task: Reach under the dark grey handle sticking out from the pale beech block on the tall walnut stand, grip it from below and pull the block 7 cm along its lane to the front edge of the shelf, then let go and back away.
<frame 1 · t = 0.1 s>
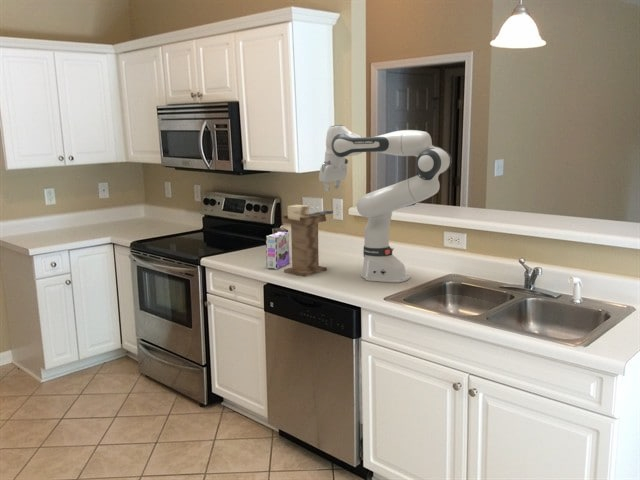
hand: (331, 190, 276), 39 cm above the worktop, tool pointing down, fingers open, 8 cm apart
walnut stand: (305, 271, 283), on the worktop
coffee box: (281, 259, 310), on the worktop
candy box: (278, 266, 294), on the worktop
beech block: (298, 218, 275), point 26 cm above the worktop, touching walnut stand
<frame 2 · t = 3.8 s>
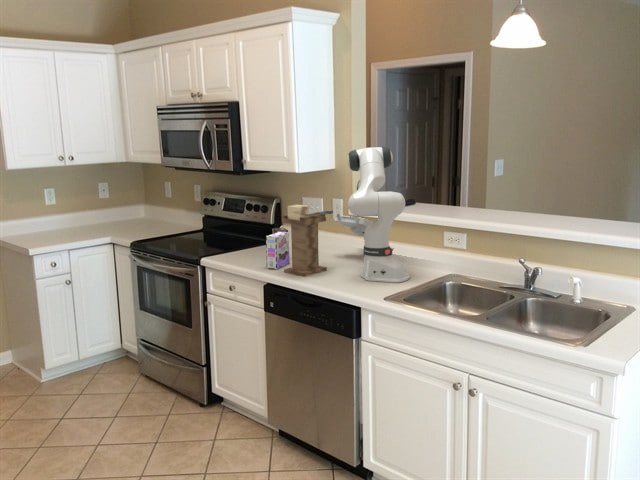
hand: (343, 215, 300), 23 cm above the worktop, tool pointing upward, fingers open, 8 cm apart
nothing on the worktop moved.
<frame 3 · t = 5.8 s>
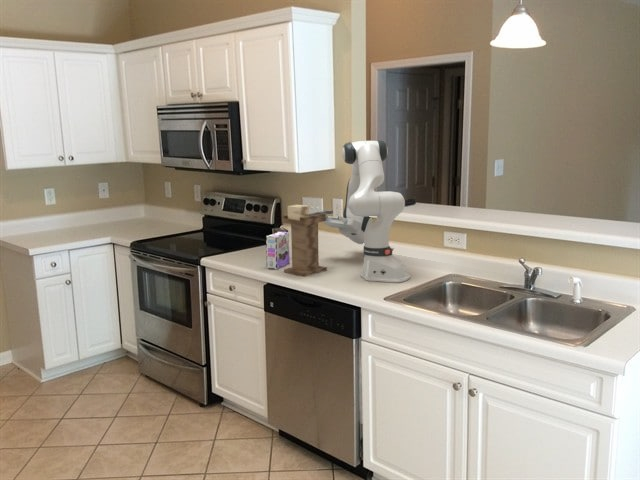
hand: (331, 216, 292), 24 cm above the worktop, tool pointing upward, fingers open, 8 cm apart
nothing on the worktop moved.
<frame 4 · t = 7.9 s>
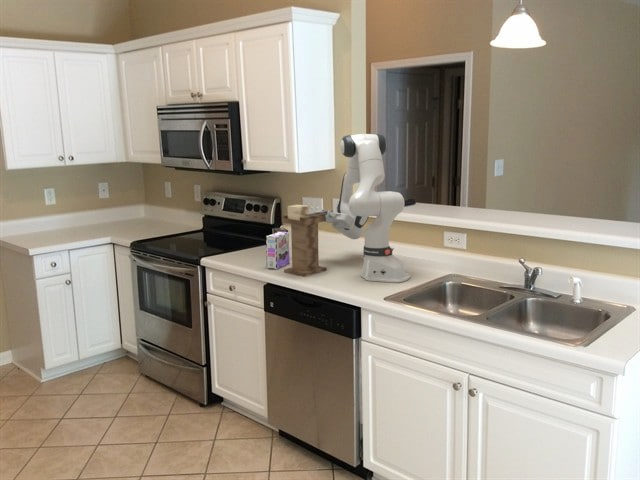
hand: (324, 211, 288), 27 cm above the worktop, tool pointing upward, fingers closed on beech block, 2 cm apart
beech block: (298, 218, 275), point 26 cm above the worktop, touching gripper, walnut stand
everything else where it was.
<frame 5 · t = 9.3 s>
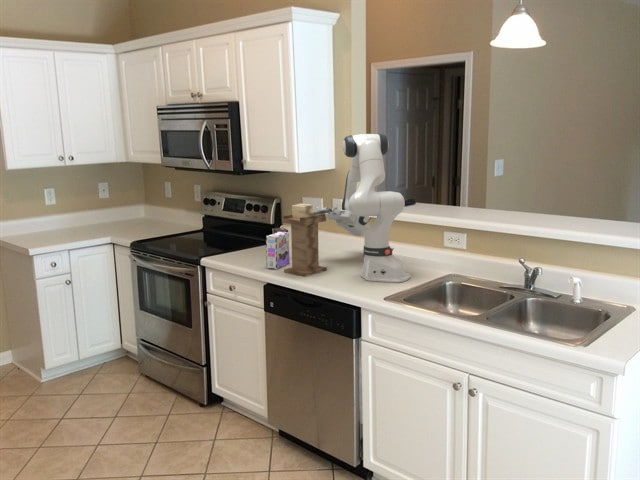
hand: (328, 208, 290), 28 cm above the worktop, tool pointing upward, fingers closed on beech block, 2 cm apart
beech block: (302, 217, 278), point 26 cm above the worktop, touching gripper
everything else where it was.
when the fingers open (27 cm above the worktop, at t = 11.0 s): beech block stays where it is, resting on walnut stand.
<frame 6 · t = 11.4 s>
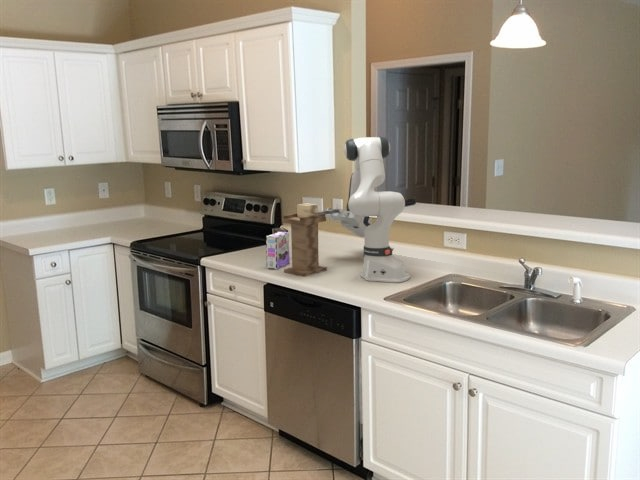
hand: (334, 209, 293), 27 cm above the worktop, tool pointing upward, fingers open, 6 cm apart
beech block: (307, 217, 280), point 26 cm above the worktop, touching walnut stand
everything else where it was.
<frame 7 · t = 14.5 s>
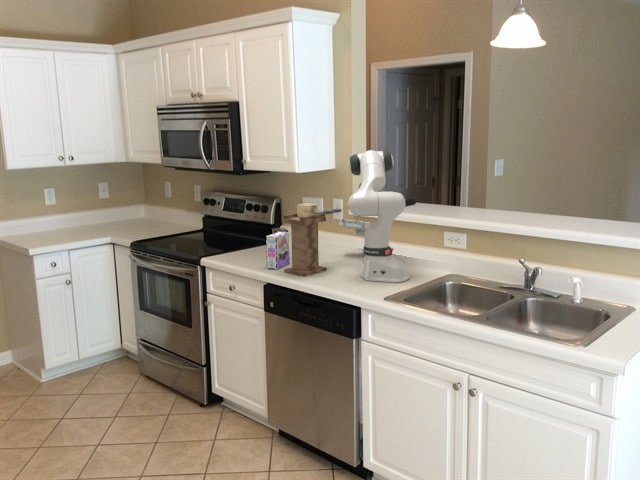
hand: (349, 221, 302), 20 cm above the worktop, tool pointing upward, fingers open, 8 cm apart
nothing on the worktop moved.
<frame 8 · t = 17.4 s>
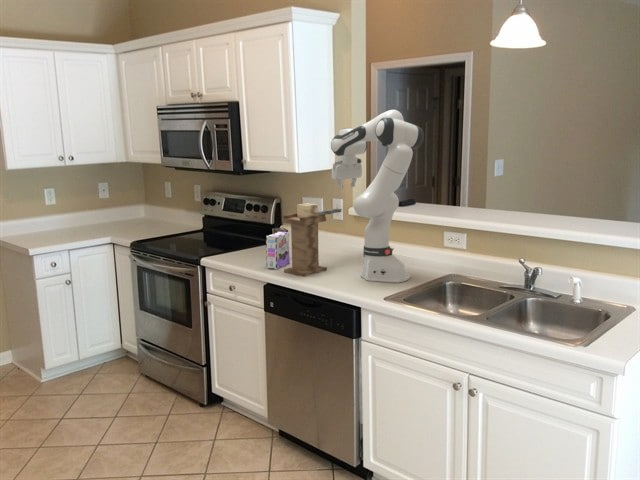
hand: (347, 187, 303), 37 cm above the worktop, tool pointing down, fingers open, 8 cm apart
nothing on the worktop moved.
at the end: beech block moved 6.4 cm from its start; beech block touching walnut stand; beech block tilted 0° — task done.
